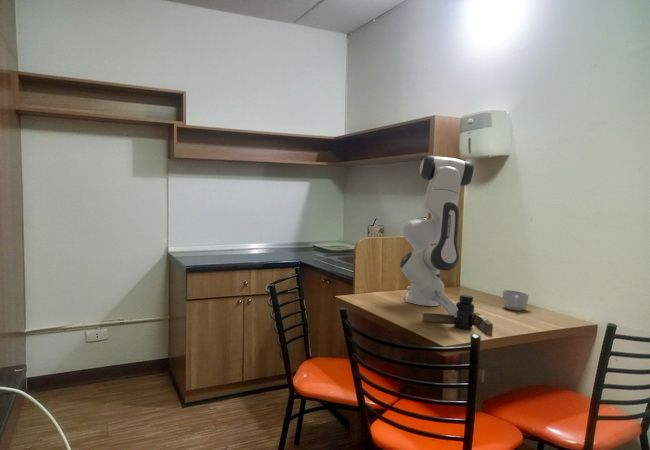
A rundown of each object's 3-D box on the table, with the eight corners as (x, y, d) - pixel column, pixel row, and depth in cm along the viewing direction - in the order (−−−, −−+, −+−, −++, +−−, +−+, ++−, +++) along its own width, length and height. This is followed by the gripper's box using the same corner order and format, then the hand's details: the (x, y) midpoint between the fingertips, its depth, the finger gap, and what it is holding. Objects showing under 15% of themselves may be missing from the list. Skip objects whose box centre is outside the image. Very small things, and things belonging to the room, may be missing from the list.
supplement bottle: (475, 329, 172) (479, 298, 171) (458, 329, 171) (462, 297, 170) (466, 324, 179) (470, 294, 178) (450, 323, 177) (453, 293, 177)
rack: (422, 320, 182) (423, 309, 182) (477, 322, 182) (478, 311, 182) (431, 332, 166) (432, 320, 166) (492, 335, 166) (492, 323, 166)
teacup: (503, 305, 216) (505, 288, 215) (528, 308, 210) (530, 291, 210) (498, 311, 204) (500, 293, 203) (525, 315, 198) (526, 296, 198)
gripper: (445, 288, 163) (471, 317, 164) (432, 278, 184) (455, 303, 184) (432, 300, 164) (458, 328, 164) (421, 289, 184) (443, 314, 185)
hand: (456, 315), depth 175 cm, fingers closed, pressing on supplement bottle
